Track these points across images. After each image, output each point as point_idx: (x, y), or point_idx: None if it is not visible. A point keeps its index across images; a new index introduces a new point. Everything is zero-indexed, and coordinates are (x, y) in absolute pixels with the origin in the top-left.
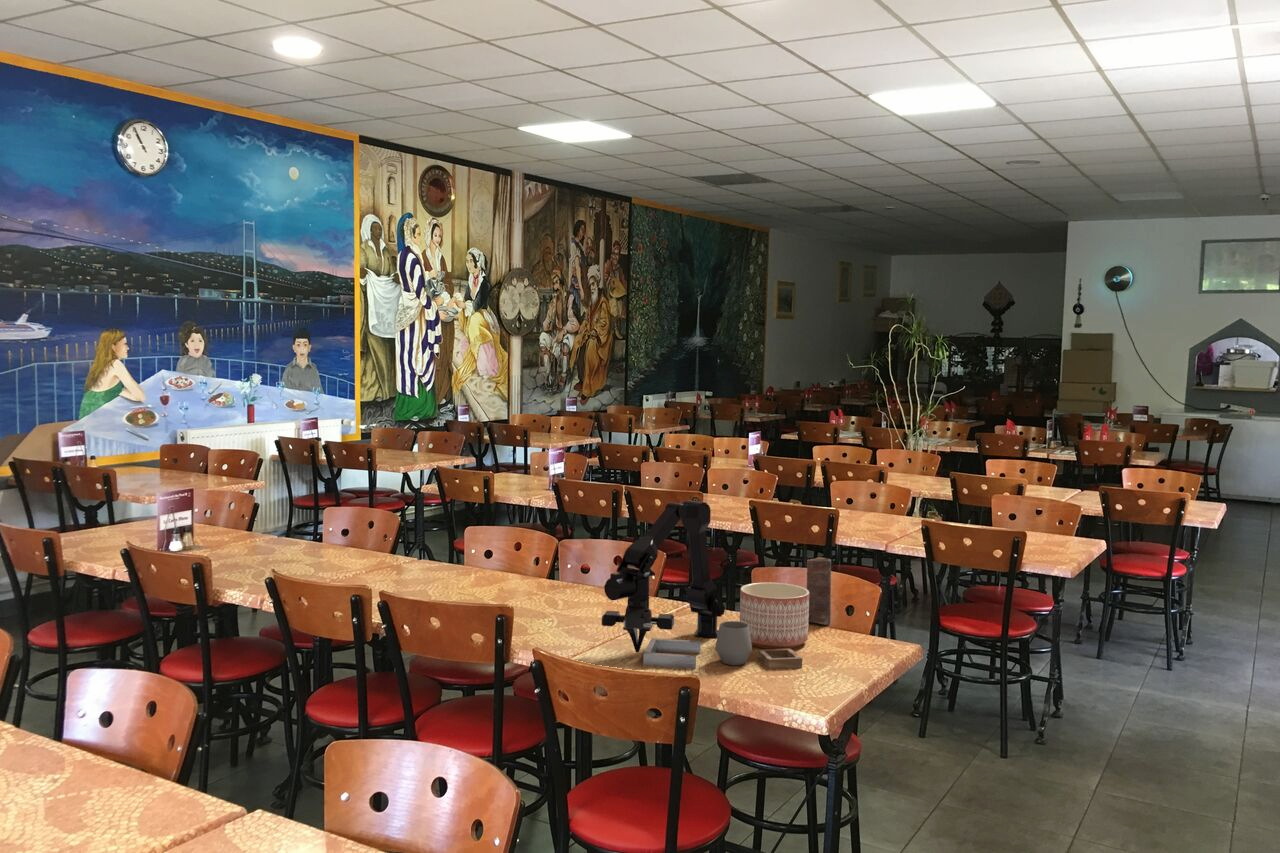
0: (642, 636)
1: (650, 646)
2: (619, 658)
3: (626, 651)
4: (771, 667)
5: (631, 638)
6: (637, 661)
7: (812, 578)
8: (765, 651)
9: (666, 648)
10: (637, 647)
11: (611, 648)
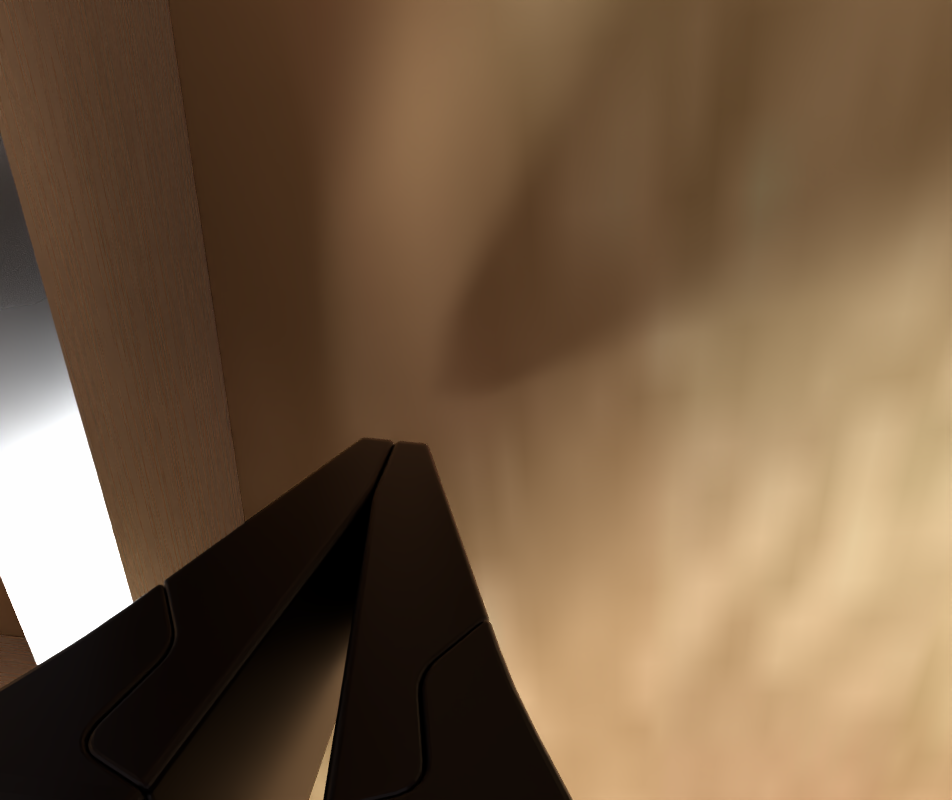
0: (20, 709)
1: (25, 492)
2: (778, 239)
3: (616, 618)
4: None
5: (507, 678)
6: (352, 57)
7: None
8: None
9: (14, 675)
10: (364, 489)
11: (847, 717)
